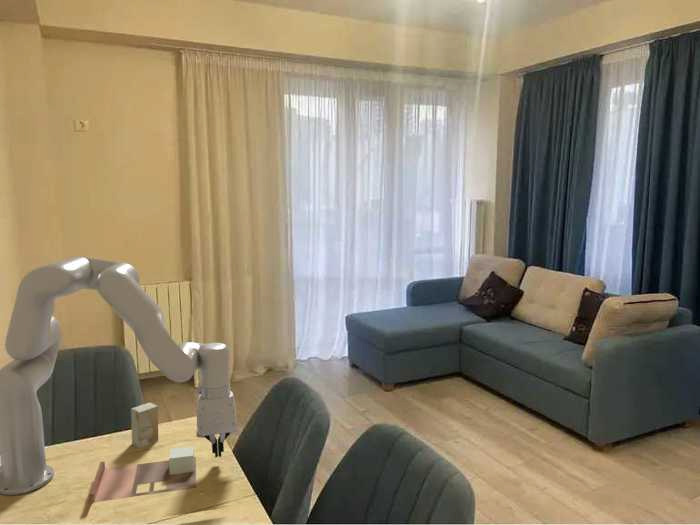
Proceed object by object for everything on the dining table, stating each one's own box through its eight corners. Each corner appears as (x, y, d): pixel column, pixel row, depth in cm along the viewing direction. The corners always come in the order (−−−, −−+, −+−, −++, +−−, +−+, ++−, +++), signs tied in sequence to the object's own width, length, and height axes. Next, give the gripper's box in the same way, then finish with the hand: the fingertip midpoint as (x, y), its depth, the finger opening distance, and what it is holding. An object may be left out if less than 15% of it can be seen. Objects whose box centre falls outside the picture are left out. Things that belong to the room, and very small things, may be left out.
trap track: (90, 508, 122) (89, 494, 122) (101, 474, 136) (100, 462, 136) (196, 492, 129) (195, 479, 128) (195, 461, 143) (195, 450, 143)
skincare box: (139, 453, 147) (137, 412, 145) (131, 448, 150) (129, 408, 148) (160, 444, 152) (158, 405, 150) (151, 440, 155) (150, 401, 153)
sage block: (169, 474, 134) (169, 458, 133) (170, 464, 139) (169, 449, 138) (193, 471, 136) (193, 455, 135) (193, 461, 140) (193, 446, 140)
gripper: (185, 398, 131) (189, 466, 134) (245, 392, 135) (247, 457, 138) (186, 387, 138) (189, 451, 141) (243, 381, 142) (244, 444, 145)
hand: (218, 454), depth 139 cm, fingers closed
